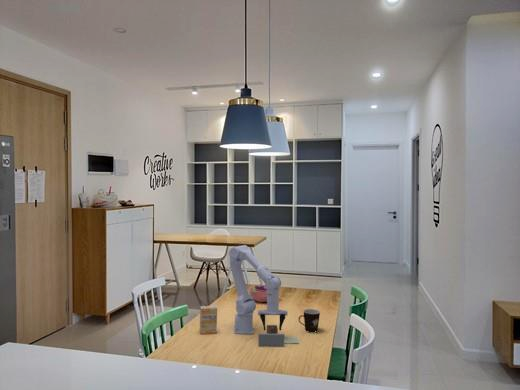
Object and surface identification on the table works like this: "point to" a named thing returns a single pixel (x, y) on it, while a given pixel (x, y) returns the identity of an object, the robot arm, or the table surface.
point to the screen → (271, 340)
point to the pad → (291, 340)
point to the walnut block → (272, 329)
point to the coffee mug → (311, 319)
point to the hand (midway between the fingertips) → (272, 329)
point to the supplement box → (208, 319)
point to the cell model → (259, 293)
